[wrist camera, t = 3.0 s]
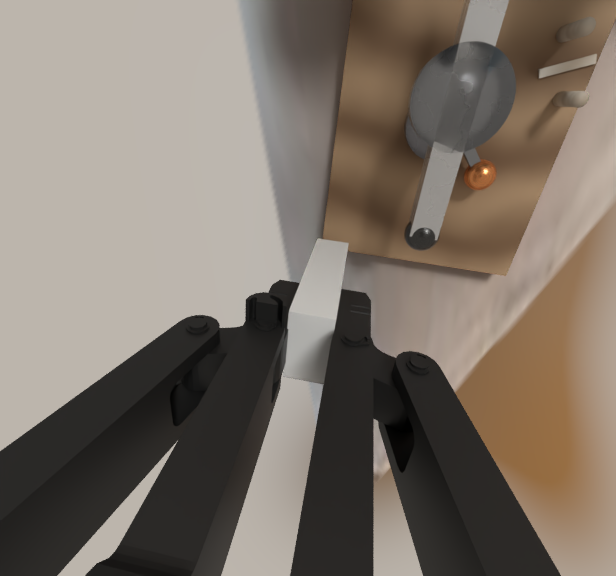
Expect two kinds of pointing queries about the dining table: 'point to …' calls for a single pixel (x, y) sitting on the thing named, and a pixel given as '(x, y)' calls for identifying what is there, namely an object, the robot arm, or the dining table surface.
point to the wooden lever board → (498, 149)
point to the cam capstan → (457, 115)
